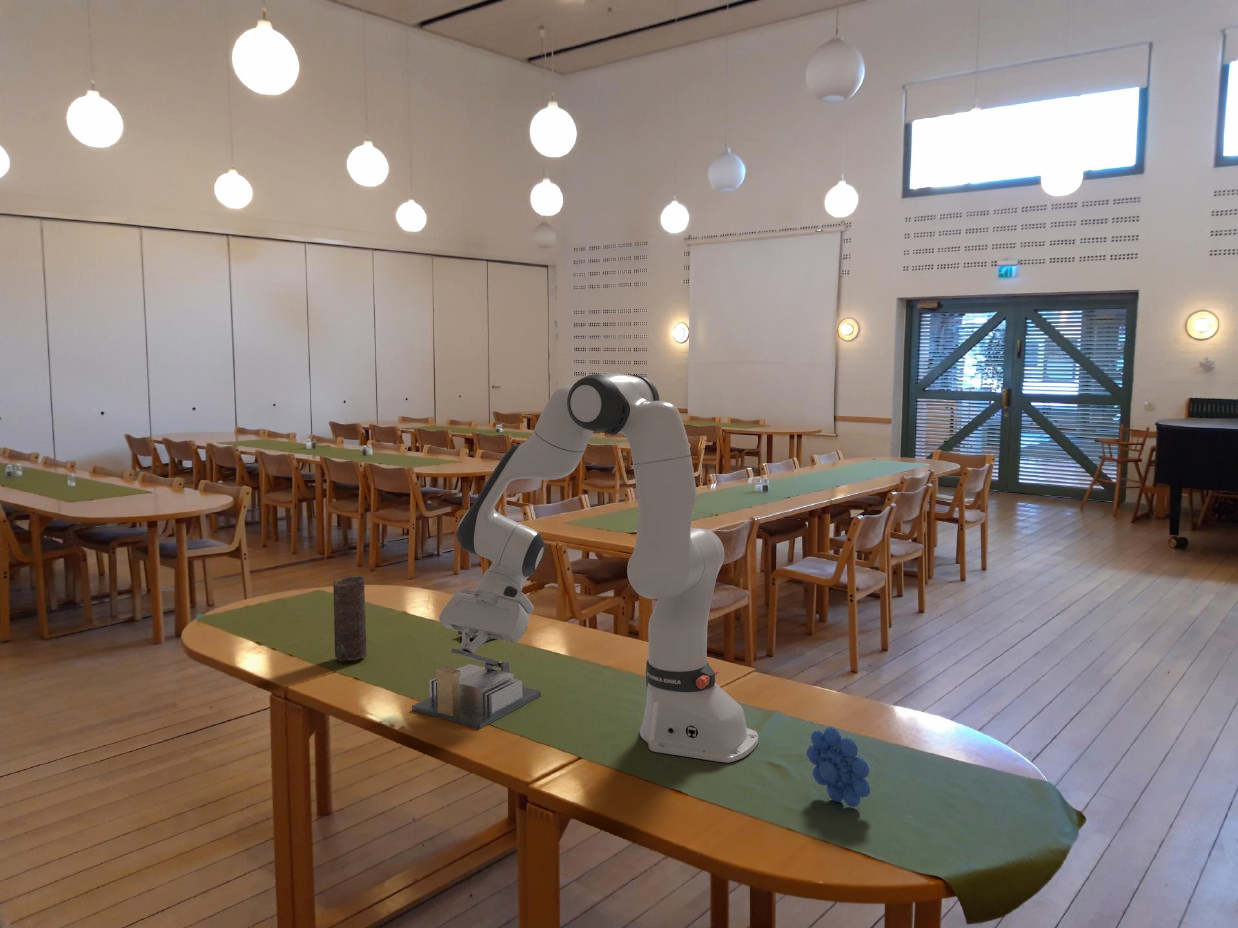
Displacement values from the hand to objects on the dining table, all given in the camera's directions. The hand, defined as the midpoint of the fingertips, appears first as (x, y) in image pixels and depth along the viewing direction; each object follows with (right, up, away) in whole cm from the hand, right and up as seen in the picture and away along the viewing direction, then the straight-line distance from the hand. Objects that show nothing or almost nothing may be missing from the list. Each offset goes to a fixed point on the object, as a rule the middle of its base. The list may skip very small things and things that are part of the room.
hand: (466, 651), depth 180 cm
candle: (-33, -9, +31) cm, 46 cm away
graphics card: (-3, -7, +52) cm, 52 cm away
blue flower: (+66, -16, -39) cm, 78 cm away
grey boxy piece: (+2, -12, +4) cm, 12 cm away
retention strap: (+2, -3, +3) cm, 4 cm away
